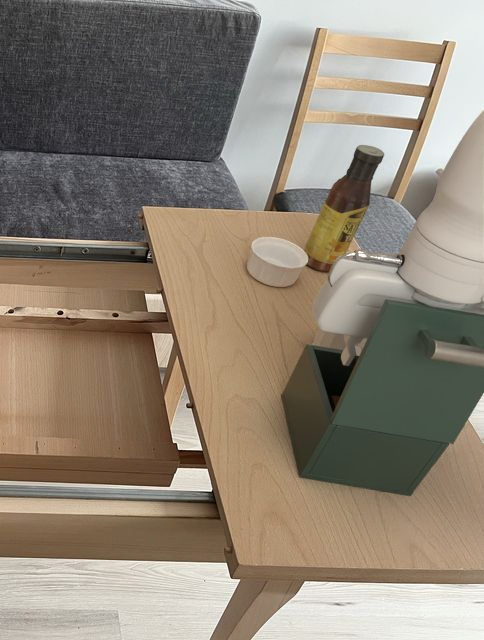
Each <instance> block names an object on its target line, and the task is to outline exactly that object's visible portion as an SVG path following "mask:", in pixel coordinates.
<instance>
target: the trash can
mask: <svg viewBox="0 0 484 640" xmlns="http://www.w3.org/2000/svg"><path fill="white" fill-rule="evenodd" d="M342 352H343V350H340V349H333V348H327V347H321V346H315V345H313V346H312V344H305V346H304V348H303V350H302V352H301V354H300V356H299V358H298V360H297V363H296V365H295V367H294V369H293V371H292V372H291V375H290V377H289V379H288V381H287V383H286V384H285V387H284V389H283V391H282V394H281V395H280V396H281V401H282V406H283V411H284V415H285V419H286V422H287V423H286V424H287V429H288V432H289V437H290V442H291V447H292V450H293V455H294V459H295V464H296V468H297V473H298V477H299V478H301V479H307V480H313V481H318V482H324V483H329V484H335V485H343V486H347V487H353V488H359V489H360V488H361V489H365V490H372V491H378V492H384V493H389V494H394V495H395V494H396V495H401V496H407V497H412V495H413V494H414V493H415V491H416V489H417V488H418V487H419V485H421V483H422V482H423V480H424V479H425V478H426V476H427V475H428V474H429V472H430V471H431V470H432V468H433V467H434V466H435V464H436V463H437V462H438V460H439V459H440V458H441V456H442V455H443V454H444V452H445V451H446V450H447V448H448V447H449V446H450V443H444V442H438V441H432V440H426V439H420V438H414V437H408V436H402V435H396V434H390V433H384V432H378V431H372V430H366V429H360V428H354V427H348V426H342V425H336V424H332V423H331V420H330V419H331V417H332V414H333V413H332V409H331V406H330V403H329V400H330V398H331V396H332V395H333V396H339V397H341V395H342V393H343V391H344V388H345V386H346V384H347V382H348V380H349V377H350V375H351V373H352V371H353V369H354V367H351V366H346V365H343V363H342V360H341V354H342Z"/></svg>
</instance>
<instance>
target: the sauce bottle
mask: <svg viewBox="0 0 484 640" xmlns="http://www.w3.org/2000/svg"><path fill="white" fill-rule="evenodd" d="M384 157H385V152H384V151H383V150H381V148H379V147H376V146H373V145H367V144H359V145H357V147H356V148H355V151H354V153H353V158H352V160H351V162H350V165H349V167H348V168H347V170H346V173H345V174H344V175H343V176H342V177H341V178H338V179H337V180H336V181H335V182H334V183H333V185H332V186H331V188H330V189H329V192H328V195H327V197H326V199H325V200H324V202H323V204H322V207H321V209H320V211H319V213H318V216H317V218H316V221H315V223H314V225H313V228H312V230H311V232H310V234H309V235H308V236H309V237H308V238H307V240H306V244H305V246H304V249H303V250H304V251H305V252H306V254H307V256H308V263H307V264H306V265H307V266H308V267H310V268H312V269H314V270H317V271H321V272H329V271H330V269H331V267H332V265H333V263H334V261H335V260H336V258H338V257H339V256H342V255H344V254H346V253H348V250H349V248H350V245H351V244H352V242H353V240H354V238H355V236H356V233H357V231H358V230H359V227H360V225H361V223H362V221H363V219H364V217H365V215H366V213H367V211H368V209H369V206H370V204H371V191H372V181H373V179H374V176H375V174H376V171H377V169H378V167H379V165H380V164H381V163H382V162H383V160H384Z"/></svg>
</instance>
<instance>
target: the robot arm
mask: <svg viewBox="0 0 484 640" xmlns="http://www.w3.org/2000/svg"><path fill="white" fill-rule="evenodd" d="M385 299H388V300H394V301H400V302H407V303H413V304H419V305H426V306H432V307H438V308H445V309H451V310H457V311H464V312H470V313H476V314H483V315H484V109H483V110H482V111H481V112H480V114H479V115H478V116H477V117H476V118H475V120H474V121H473V122H472V123H471V124H470V126H469V127H468V129H467V130H466V132H465V133H464V135H462V137H461V139H460V141H459V142H458V144H457V146H456V147H455V149H454V151H453V152H452V154H451V156H450V157H449V160H448V161H447V163H446V165H445V166H444V168H443V170H442V172H441V174H440V176H439V178H438V181H437V184H436V189H435V194H434V196H433V199H432V200H431V202H430V203H429V205H428V206H427V207H426V208H425V209H424V210H422V212H421V213H420V214H419V216H418V217H417V218H416V221H415V223H414V225H413V227H412V228H411V229H410V232H409V234H408V236H407V238H406V239H405V241H404V243H403V245H402V247H401V249H400V251H399V253H398V254H394V253H390V252H389V253H388V252H375V251H370V250H368V249H363V248H362V249H359V248H358V249H354V251H352V252H346V254H344V255H342V256H339V257H338V258H336V260H335V261H334V263H333V265H332V267H331V269H330V271H328V275H327V278H326V279H325V281H324V283H323V284H322V286H321V287H320V288H319V291H318V292H317V294H316V295H315V297H314V299H313V301H312V303H311V314H312V317H313V320H314V322H315V324H316V326H317V327H318V328H319V329H320V330H321V331H324V332H331V333H337V334H343V335H344V339H345V344H346V347H345V348H344V350H343V352H342V354H341V360H342V363H343V365H346V366H351V367H355V364H356V362H357V360H358V358H359V356H360V354H361V348H360V347H359V346H355V344H354V343H358V344H359V343H361V341H362V339H363V338H368V336H369V334H370V332H371V330H372V327H373V325H374V323H375V321H376V319H377V317H378V314H379V312H380V310H381V308H382V306H383V303H384V301H385Z"/></svg>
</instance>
